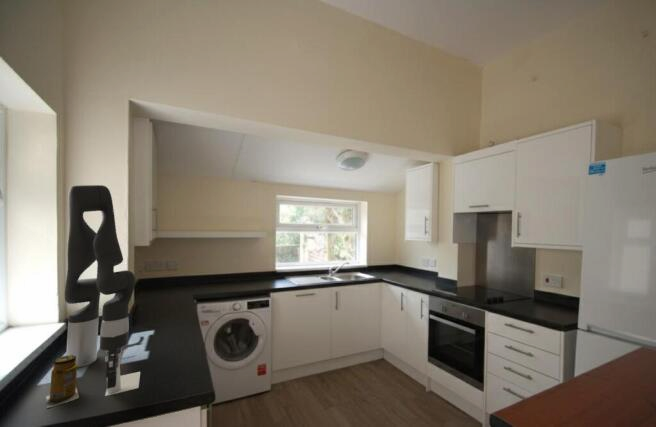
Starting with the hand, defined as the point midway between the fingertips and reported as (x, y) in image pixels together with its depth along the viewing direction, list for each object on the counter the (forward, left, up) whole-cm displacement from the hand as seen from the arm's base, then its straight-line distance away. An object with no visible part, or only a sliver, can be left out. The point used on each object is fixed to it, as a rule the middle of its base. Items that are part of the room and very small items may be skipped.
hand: (112, 383), depth 92 cm
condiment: (-4, -13, -3) cm, 14 cm away
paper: (-4, +3, -3) cm, 6 cm away
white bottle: (0, +1, -2) cm, 2 cm away
